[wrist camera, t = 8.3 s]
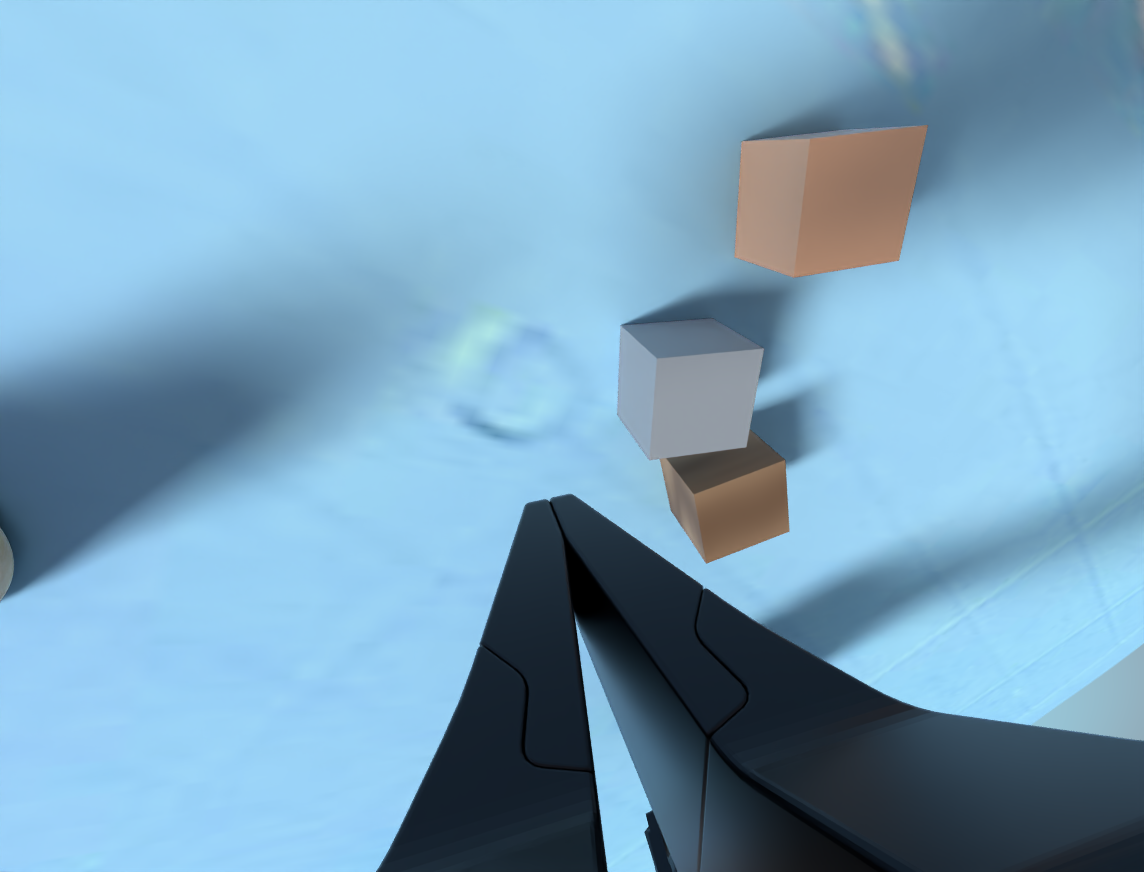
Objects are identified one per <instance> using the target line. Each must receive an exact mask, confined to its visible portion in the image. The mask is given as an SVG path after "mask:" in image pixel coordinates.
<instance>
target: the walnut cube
mask: <svg viewBox="0 0 1144 872" xmlns="http://www.w3.org/2000/svg"><path fill="white" fill-rule="evenodd" d="M660 462H661V466H662V471H663V476H664V480H665V485H666V490H667V494H668V499H669V504H670V508H671V511H672V513H673V514H674V516H675V517H676V519H677V520H678V522H679V523H680V525H681V526H682V528H683V529H684V531H685V532H686V534H687V535H688V537H689V538H690V540H691V541H692V543H693V544H694V546H695V547H696V549H697V550H698V552H699V553H700V555H701V556H702V558H703V559H704V561H705V562H706V564H707V563H709V562H712V561H714V560H717V559H719V558H722V557H725V556H727V555H730V554H732V553H735V552H737V551H740V550H743V549H745V548H748V547H750V546H753V545H756V544H758V543H761V542H763V541H766V540H768V539H771V538H774V537H776V536H779V535H781V534H784V533H786V532H789V517H788V499H787V482H786V464H785V459H784V458H782V457H781V456H780V455H779V454H778V453H777V452H775V451H774V450H773V449H772V448H771V447H770V446H769V445H767V444H766V443H765V442H764V441H763V440H762V439H761V438H759V437H758V436H757V435H756V434H755V433H754V432H753V431H751V430H749V435H748V441H747V447H745V448H737V449H730V450H722V451H715V452H707V453H700V454H692V455H685V456H678V457H670V458H663V459H660Z"/></svg>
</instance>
